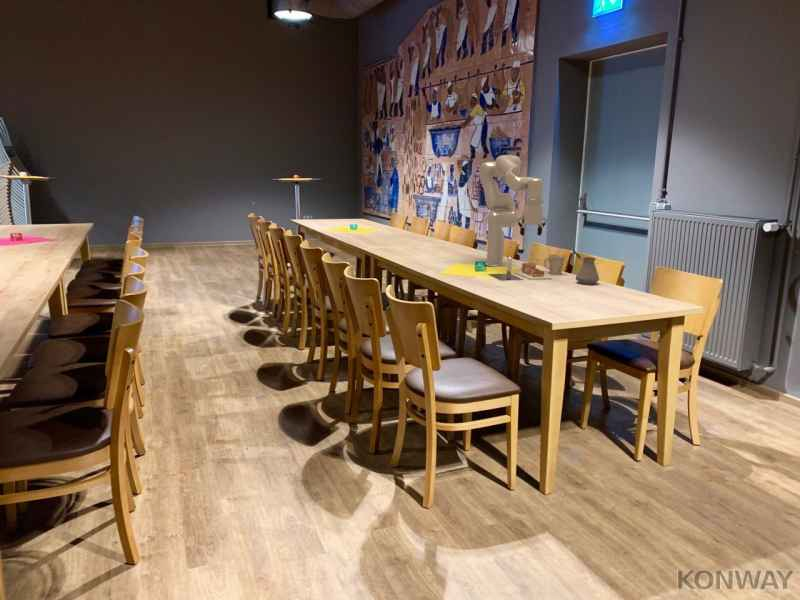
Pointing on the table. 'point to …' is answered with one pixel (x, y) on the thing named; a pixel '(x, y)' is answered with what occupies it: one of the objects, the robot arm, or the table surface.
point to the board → (531, 276)
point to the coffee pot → (587, 271)
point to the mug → (555, 264)
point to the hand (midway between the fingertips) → (530, 235)
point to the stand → (506, 276)
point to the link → (532, 270)
